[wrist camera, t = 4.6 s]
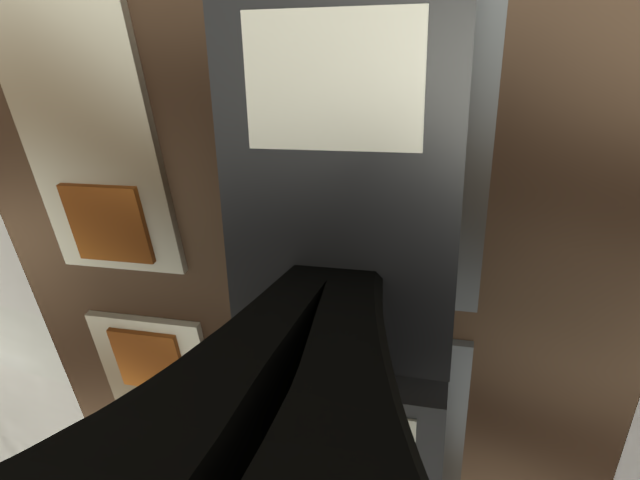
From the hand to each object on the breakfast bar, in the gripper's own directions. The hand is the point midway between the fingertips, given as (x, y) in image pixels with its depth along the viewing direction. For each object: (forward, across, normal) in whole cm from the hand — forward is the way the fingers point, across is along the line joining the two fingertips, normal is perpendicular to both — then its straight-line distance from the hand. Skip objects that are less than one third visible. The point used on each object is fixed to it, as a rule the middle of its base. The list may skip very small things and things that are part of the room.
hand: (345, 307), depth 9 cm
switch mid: (0, 0, -2) cm, 2 cm away
